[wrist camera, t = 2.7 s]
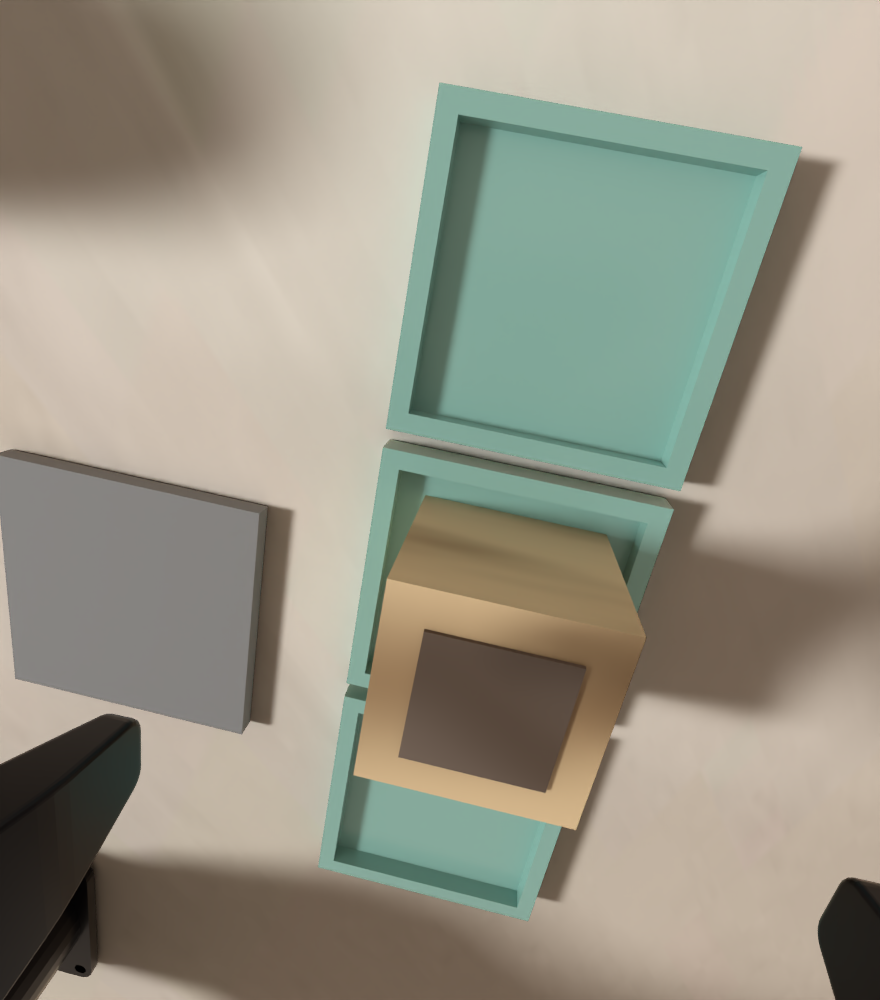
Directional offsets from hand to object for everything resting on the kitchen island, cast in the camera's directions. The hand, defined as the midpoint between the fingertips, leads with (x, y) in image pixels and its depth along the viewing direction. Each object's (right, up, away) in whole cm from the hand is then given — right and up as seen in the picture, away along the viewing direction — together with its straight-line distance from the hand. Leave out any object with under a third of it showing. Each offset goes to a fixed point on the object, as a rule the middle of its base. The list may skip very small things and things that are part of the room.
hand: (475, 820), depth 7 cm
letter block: (+1, +1, +9) cm, 9 cm away
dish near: (+3, +9, +7) cm, 11 cm away
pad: (-10, +1, +11) cm, 15 cm away
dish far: (0, -6, +12) cm, 14 cm away
